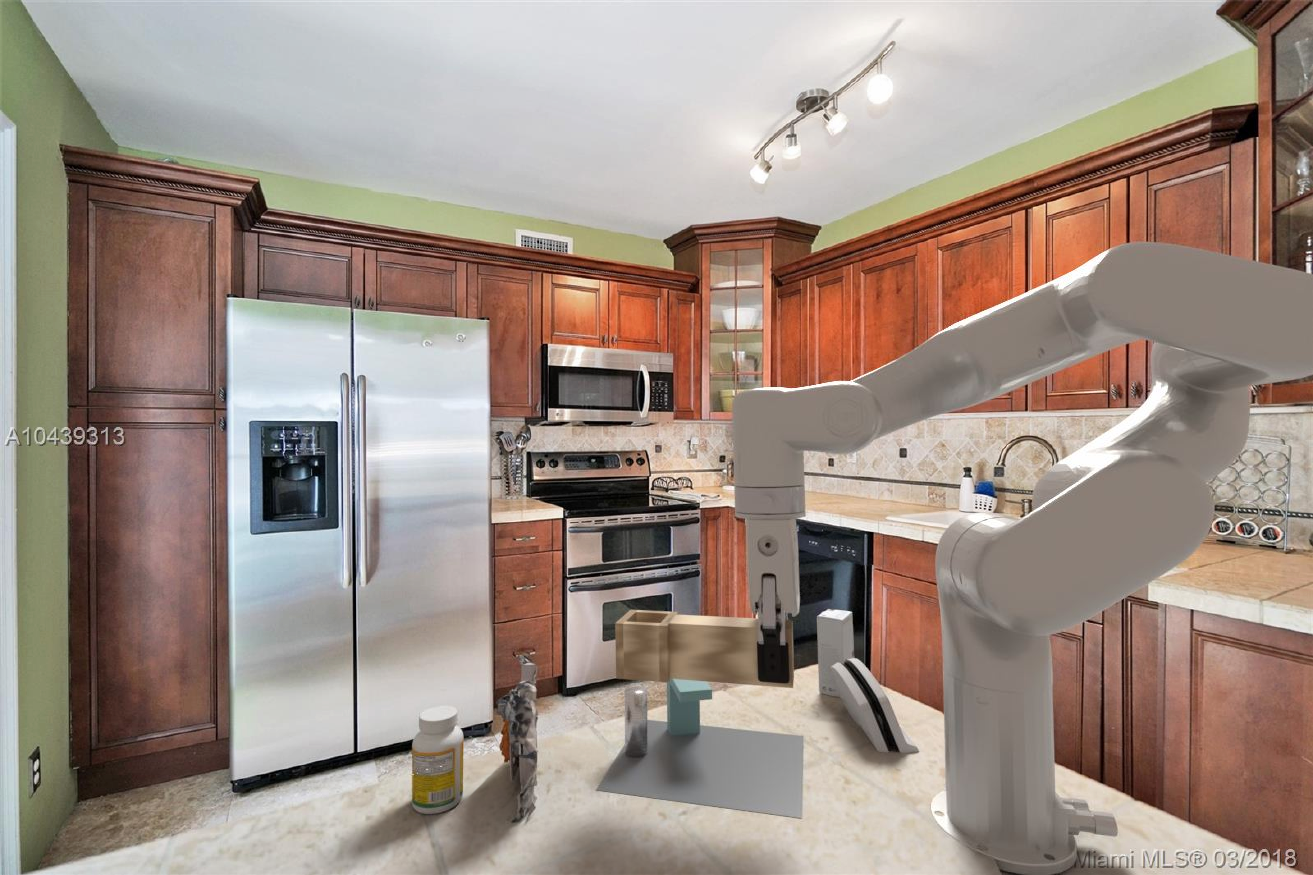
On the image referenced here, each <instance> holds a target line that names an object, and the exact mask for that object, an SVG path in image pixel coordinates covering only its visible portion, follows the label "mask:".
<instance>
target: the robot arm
mask: <svg viewBox="0 0 1313 875" xmlns="http://www.w3.org/2000/svg"><path fill="white" fill-rule="evenodd" d="M1140 340H1145V341H1148V342H1152V343H1153V344H1152V347H1151V353H1150V369H1151V371H1150V372H1151V386H1150V390H1149V394H1148V396H1147V399H1146V400H1145V401H1144V403H1143V404H1142V405H1141V406H1140V407H1139V408H1138V409H1136V410H1135V411H1134V412H1132V414H1130V415H1128V416H1127V417H1126V418H1125V419H1123V420H1122V421H1120V422H1119V423H1118V424H1117V425H1115V426H1114V427H1112V428H1110V429H1108V430H1107V431H1106V432H1104V433H1103V434H1101V435H1099V436H1098V437H1096V438H1095V439H1093V440H1092V441H1090V442H1088V443H1087V444H1086V445H1084V446H1083V447H1081V448H1079V449H1078V450H1076V451H1074V452H1073V453H1071V454H1070V455H1068V456H1066V457H1064V458H1062V459H1061V460H1059V461H1058V462H1056V463H1055V464H1053V465H1052V466H1050V467H1049V468H1048V469H1046V471H1045V472H1044V473H1043V474H1042V475H1041V476H1040V477H1039V479H1038V480H1037V482H1036V483H1035V486H1034V489H1033V492H1032V498H1031V501H1032V503H1031V504H1032V509H1033V510H1031V511H1030V512H1029V513H1028V514H1026V515H1025V516H1023V517H1021V518H1017V517H1013V516H1010V515H1007V514H1002V513H997V512H976V513H975V512H974V513H971V514H968V515H964V516H962V517H960V518H958V519H956V520H955V521H953V522H952V523H951V524H950V525H949V526H948V527H947V528H945V530H944V532H943V533H942V534H941V536H940V539H939V541H938V544H937V547H936V552H935V560H934V567H935V568H934V569H935V571H934V572H935V580H936V586H937V587H936V588H937V595H938V603H939V604H938V605H939V610H940V611H939V612H940V621H941V622H940V624H941V638H942V639H941V640H942V679H943V682H942V684H943V685H942V686H943V687H942V688H943V726H944V727H943V729H944V732H943V733H944V764H945V766H944V767H945V768H944V769H945V770H944V771H945V773H944V774H945V775H944V776H945V790H942V791H940V792H939V793H937V794H936V795H935V796H934V797H933V798H932V799H931V801H930V805H929V806H930V813H931V816H932V818H933V819H934V821H935V822H936V823H937V825H938V826H939V827H940V828H941V829H942V831H944V832H945V833H946V834H948V835H949V836H950V837H952V838H953V839H954V840H956V841H957V842H959V843H961V844H962V845H964V846H966V847H967V848H970V849H972V850H973V851H976V852H979V853H980V854H983V855H985V856H988V857H991V858H993V859H994V861H995V863H996V866H997V867H998V869H999V870H1001V871H1004V872H1007V873H1013V874H1017V875H1055V874H1056V875H1057V874H1060V873H1063V872H1065V871H1067V870H1069V869H1070V868H1072V867H1073V866H1074V864H1075V862H1076V860H1077V859H1078V844H1077V840H1076V837H1075V836H1079V835H1080V832H1082V833H1089V834H1090V833H1091V834H1093V835H1099V836H1107V837H1114V838H1116V837H1118V833H1119V832H1118V831H1119V830H1118V825H1117V821H1116V818H1115V816H1114V815H1113V814H1112V813H1111V812H1107V811H1098V810H1091V809H1090V808H1089V804H1088V802H1087V800H1086V799H1082V798H1073V797H1069V798H1067V797H1060V795H1059V794H1058V793H1057V792H1056V773H1055V772H1056V770H1055V768H1056V767H1055V736H1054V735H1055V734H1054V732H1055V731H1054V704H1053V703H1054V702H1053V701H1054V700H1053V696H1054V695H1053V685H1054V676H1053V675H1054V674H1053V673H1054V672H1053V671H1054V670H1053V658H1052V657H1053V656H1052V647H1051V640H1050V636H1051V635H1054V634H1059V633H1062V632H1065V631H1067V630H1069V629H1070V630H1071V629H1072V628H1074V627H1077V626H1079V625H1081V624H1083V623H1084V622H1087V621H1088V620H1090V619H1092V618H1093V617H1095V616H1096V615H1099V614H1100V613H1102V612H1103V611H1106V610H1107V609H1109V608H1111V607H1112V606H1113V605H1116V604H1117V603H1119V602H1120V601H1122V600H1123V599H1125V598H1128V596H1130V595H1133V593H1135V592H1137V591H1139V590H1140V589H1142V588H1144V587H1145V586H1147V585H1149V584H1151V583H1152V582H1153V581H1155V580H1157V579H1159V578H1160V577H1162V576H1163V575H1165V574H1166V573H1168V572H1170V571H1171V570H1172V569H1174V568H1176V567H1177V566H1179V565H1181V564H1182V563H1183V562H1185V561H1186V560H1187V559H1189V558H1190V557H1191V556H1192V555H1193V554H1194V553H1195V552H1196V551H1197V550H1198V548H1199V547H1200V546H1201V544H1203V542H1204V541H1205V539H1206V537H1207V536H1208V534H1209V532H1210V530H1211V527H1212V524H1213V521H1214V515H1215V504H1214V499H1213V494H1212V491H1211V489H1210V487H1209V485H1208V484H1207V483H1209V481H1211V480H1213V479H1214V478H1216V477H1217V476H1219V475H1221V473H1223V472H1224V471H1225V470H1227V469H1228V467H1230V466H1231V465H1232V464H1233V463H1234V462H1235V461H1236V460H1237V459H1238V457H1239V456H1240V455H1241V453H1242V452H1243V450H1244V448H1245V446H1246V443H1247V441H1248V437H1249V436H1248V435H1249V431H1250V418H1251V416H1250V415H1251V400H1250V398H1251V397H1250V392H1249V387H1251V386H1252V387H1253V386H1259V385H1266V384H1273V383H1279V382H1287V381H1292V380H1299V379H1303V378H1306V377H1311V376H1313V273H1310V272H1307V271H1303V270H1298V269H1294V268H1289V267H1285V266H1280V265H1275V264H1271V263H1268V262H1267V263H1266V262H1261V261H1257V260H1253V259H1248V258H1244V257H1239V256H1235V255H1234V256H1233V255H1230V254H1226V253H1225V254H1224V253H1220V252H1218V251H1217V252H1216V251H1211V250H1207V249H1203V248H1202V249H1201V248H1197V247H1192V246H1186V245H1181V244H1173V243H1169V242H1168V243H1166V242H1154V241H1132V242H1127V243H1123V244H1122V243H1121V244H1119V245H1117V246H1113V247H1110V248H1109V249H1107V250H1105V251H1103V252H1101V253H1100V254H1098V255H1097V256H1095V257H1094V258H1092V259H1090V260H1089V261H1087V262H1086V263H1084V264H1083V265H1081V266H1079V267H1078V268H1076V269H1074V270H1072V271H1070V272H1068V273H1066V274H1063V275H1062V276H1060V277H1058V278H1056V279H1053V280H1051V281H1049V282H1046V283H1044V284H1042V285H1040V286H1037V287H1036V288H1033V289H1032V290H1031V289H1030V290H1028V291H1027V292H1025V293H1022V294H1021V295H1019V296H1016V297H1013V298H1012V299H1011V298H1010V299H1009V300H1007V301H1005V302H1002V303H1000V304H998V305H995V306H994V307H991V308H989V309H986V310H984V311H981V312H979V313H977V314H974V315H972V316H969V317H968V318H966V319H963V320H961V321H959V322H956V323H954V324H952V325H951V326H949V327H947V328H945V329H943V330H942V331H940V332H938V333H936V334H934V335H933V336H932V337H930V338H929V339H927V340H925V341H924V342H923V343H922V344H920V345H918V346H917V347H916V348H914V349H912V350H911V351H909V352H907V353H905V354H904V355H902V356H900V357H898V358H897V359H895V360H893V361H890V362H889V363H886V364H885V365H882V366H881V367H879V368H877V369H874V370H873V371H870V372H868V373H865V374H864V375H861V376H858V377H857V378H855V379H853V380H850V381H849V380H848V381H846V380H843V381H842V380H839V381H838V380H837V381H831V382H825V383H821V384H816V385H815V384H814V385H810V386H808V385H807V386H804V387H797V388H796V387H795V388H789V387H788V388H787V387H758V388H749V389H745V390H743V391H740V392H738V393H737V394H735V395H734V397H733V400H732V405H731V406H732V407H731V416H732V417H731V419H732V420H731V422H732V423H731V424H732V453H733V454H732V455H733V485H734V488H733V489H734V517H735V518H739V519H744V520H745V535H746V536H745V539H746V540H745V541H746V566H747V567H746V568H747V569H746V570H747V571H746V572H747V586H748V587H747V588H748V598H749V599H748V600H749V609H750V611H751V613H752V614H754V615H755V616H757V619H758V641H757V663H758V680H759V681H760V682H770V683H784V684H786V683H788V682H789V679H790V676H789V645H788V643H786V630H785V620H788V614H791V616H792V617H796V616H797V615H798V614H799V613H800V603H801V596H800V595H801V594H800V593H801V592H800V566H799V564H800V562H799V561H800V560H799V542H798V538H799V537H798V528H797V519H801V518H805V517H806V515H807V514H806V512H807V511H806V491H805V490H806V487H805V458H804V453H805V452H815V453H816V452H817V453H826V454H830V455H831V454H832V455H850V454H854V453H857V452H859V451H862V450H864V449H865V448H867V447H868V446H870V444H872V443H873V442H874V441H875V440H877V439H880V438H882V437H885V436H887V435H889V434H892V433H894V432H897V431H899V430H901V429H905V428H907V427H909V426H911V425H914V424H916V423H919V422H922V421H925V420H927V419H930V418H934V417H936V416H940V415H944V414H948V413H951V412H955V411H959V410H964V409H969V408H970V407H974V406H976V405H980V404H982V403H986V402H988V401H991V400H993V399H996V398H998V397H1001V396H1003V395H1005V394H1008V393H1010V392H1012V391H1015V390H1017V389H1020V388H1022V387H1024V386H1026V385H1029V384H1032V383H1034V382H1036V381H1039V380H1042V379H1043V378H1045V377H1048V376H1051V375H1052V374H1054V373H1057V372H1059V371H1063V370H1065V369H1068V368H1070V367H1072V366H1075V365H1077V364H1080V363H1082V362H1084V361H1087V360H1089V359H1091V358H1094V357H1097V356H1098V355H1101V354H1103V353H1106V352H1109V351H1111V350H1113V349H1116V348H1119V347H1122V346H1125V345H1129V344H1130V343H1134V342H1137V341H1140ZM776 620H780V625H779V623H776ZM936 812H939V813H942V814H943V815H941V816H940V815H938V814H936ZM979 846H983V847H984V848H986V849H987V850H982V849H979V848H978V847H979Z"/></svg>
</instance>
